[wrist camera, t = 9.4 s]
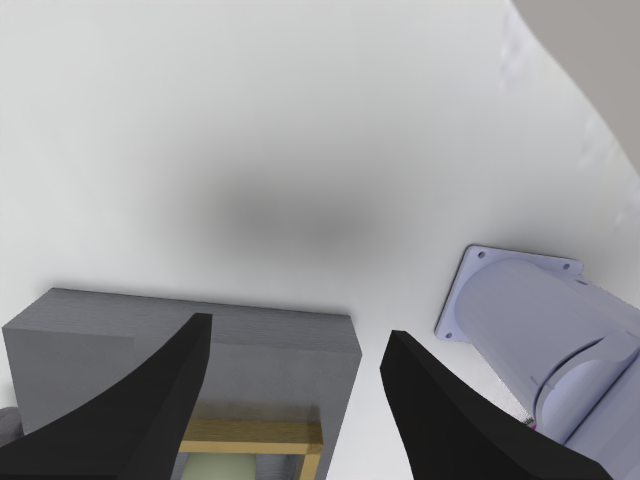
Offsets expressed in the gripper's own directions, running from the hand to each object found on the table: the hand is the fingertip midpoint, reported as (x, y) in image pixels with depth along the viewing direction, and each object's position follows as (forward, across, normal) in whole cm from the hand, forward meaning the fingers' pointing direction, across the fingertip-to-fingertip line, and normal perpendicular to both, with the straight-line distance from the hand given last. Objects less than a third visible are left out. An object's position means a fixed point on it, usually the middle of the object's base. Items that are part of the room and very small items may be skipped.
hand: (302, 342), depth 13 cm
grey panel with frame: (+9, +6, +16) cm, 20 cm away
